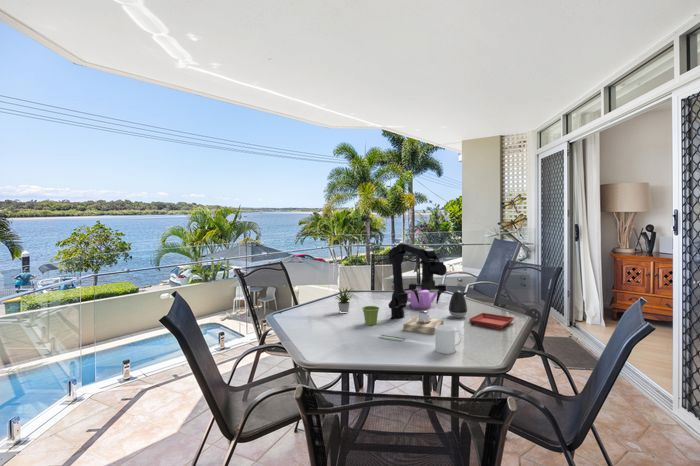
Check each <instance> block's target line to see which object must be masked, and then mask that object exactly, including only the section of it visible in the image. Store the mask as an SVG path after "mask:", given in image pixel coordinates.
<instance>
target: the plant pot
mask: <svg viewBox="0 0 700 466" xmlns="http://www.w3.org/2000/svg"><path fill="white" fill-rule="evenodd" d="M361 309H362V312H363V315H364V316H363V317H364V324H365V325H368V326H375V325H377V323H378V314H379V310H380V306H377V305H366V306H365V305H364V306H363V307H362V308H361Z"/></svg>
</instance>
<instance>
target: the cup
mask: <svg viewBox="0 0 700 466" xmlns="http://www.w3.org/2000/svg"><path fill="white" fill-rule="evenodd" d="M456 333H458V341H457V342H456ZM462 338H463V337H462V332H461V330H460V329H458V328H456V327H454V326H453V325H450V324H444V325H438V326H436V327H435V334H434V342H435V343H434V344H435V345H434V346H435V351H436V352H437V353H439V354H443V355H452V354H454V353H455V352H456V347H457V346H460V344H461V343H462Z"/></svg>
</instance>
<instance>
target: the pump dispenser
mask: <svg viewBox="0 0 700 466" xmlns="http://www.w3.org/2000/svg"><path fill="white" fill-rule="evenodd" d="M466 295H468V291H465V292H462V291H460V290H455V291H453V293H452V294H451V296H450V300H449V304H448V311H449V313H450V316H452V317H453V318H456V319H463V318H465V317H466V315H467V312H468V303H467V300H466V297H465V296H466Z"/></svg>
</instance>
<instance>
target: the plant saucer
mask: <svg viewBox="0 0 700 466" xmlns="http://www.w3.org/2000/svg"><path fill="white" fill-rule="evenodd" d="M514 320H515V317H514V316H506V315H501V314H495V313H494V314H493V313H487V312H481V313H479V314H477V315H475V316H472V317H470V318H468V321H469V322H470V323H471V324H473V325H475V326H480V327H487V328H491V329H497V330H502V329H503V328H505V327H506V326H508V325H509V324H511V323H512V322H513V321H514Z"/></svg>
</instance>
